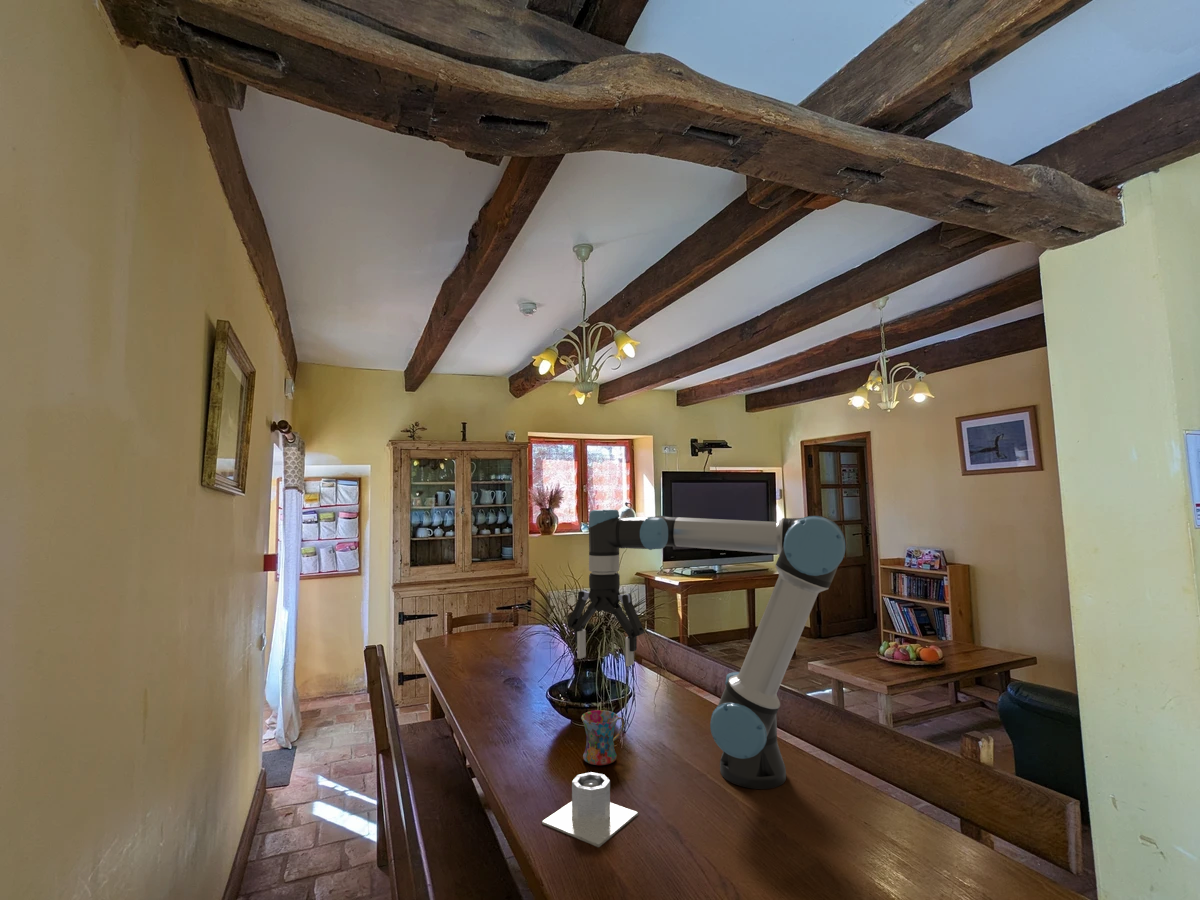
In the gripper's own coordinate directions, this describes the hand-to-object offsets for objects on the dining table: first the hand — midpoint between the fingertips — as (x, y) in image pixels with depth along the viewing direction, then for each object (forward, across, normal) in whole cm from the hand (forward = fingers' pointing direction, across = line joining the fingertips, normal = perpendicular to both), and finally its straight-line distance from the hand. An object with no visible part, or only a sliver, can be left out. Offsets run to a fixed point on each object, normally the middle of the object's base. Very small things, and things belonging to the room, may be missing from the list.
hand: (605, 661), depth 141 cm
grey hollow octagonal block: (+26, -8, +19) cm, 33 cm away
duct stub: (+26, -7, +19) cm, 33 cm away
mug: (+26, +4, -7) cm, 28 cm away
